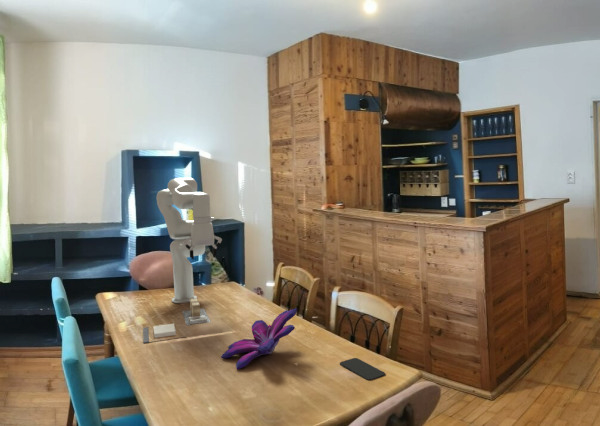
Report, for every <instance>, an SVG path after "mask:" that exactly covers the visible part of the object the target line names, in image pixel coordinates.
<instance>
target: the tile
mask: <svg viewBox="0 0 600 426" xmlns="http://www.w3.org/2000/svg"><path fill="white" fill-rule="evenodd" d="M176 335H177V330H176V327H175V323H168V324H161V325H154V326H153V338H154V339H157V338H164V337H171V336H176Z"/></svg>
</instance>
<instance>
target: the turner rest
mask: <svg viewBox="0 0 600 426" xmlns="http://www.w3.org/2000/svg"><path fill="white" fill-rule="evenodd" d="M181 312H182V316H183V318H184V323H185V324H186V326H190V325H191V326H192V325H199V324H200V325H201V324H206V323H207V324H208V323H211V320H210V318H209V316H208V314H207V312H206V309H205V308H200V316H202V315H205V316H206V318H207V322H202V323H194V324H190V322H189V317H192V314H191V310H190V309H189V310H182V311H181Z"/></svg>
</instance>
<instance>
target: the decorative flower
mask: <svg viewBox="0 0 600 426" xmlns="http://www.w3.org/2000/svg"><path fill="white" fill-rule="evenodd" d="M297 311H298V308H293V309H289V310H287V309H286V310H284V311H282V312H281V313H279V314H278V316H276V318H274V319H273V321H272V323H271V324H267V323H266V321H264V320H263V319H259V320H254V323H252V325H251V333H252V336H253V339H252V338H251V339H250V338H249V339H248V338H244V339H240V340H237V341H234V342H233V343H231V344H230V345H228V346H227V348H228V349H227V350H226V351H225V352H224V353H222V354H221V356H220V357H221V358H222V359H229V358H231V357H234V356H236V355H238V354H242V353H243V354H244V353H247V354H244V355H242V356H241V357H239V359H238V361H236V364H235V367H236V370H241V369H242V368H244V367H246V366H247V365H249V363H250V362H252V361H253V360H254V359H255V358H258V357H259V356H263V355H272V353H273V352H274V350H275V349H276V347H277V345H279V343H280V339H282V338H284V337H286V336H288V335H289V334H290V333H292V332H293V331H294V330H295V325H293V324H289V325H286V324H287V323H288V321H290V320H291V319H293V317H294V316H296V313H297Z"/></svg>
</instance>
